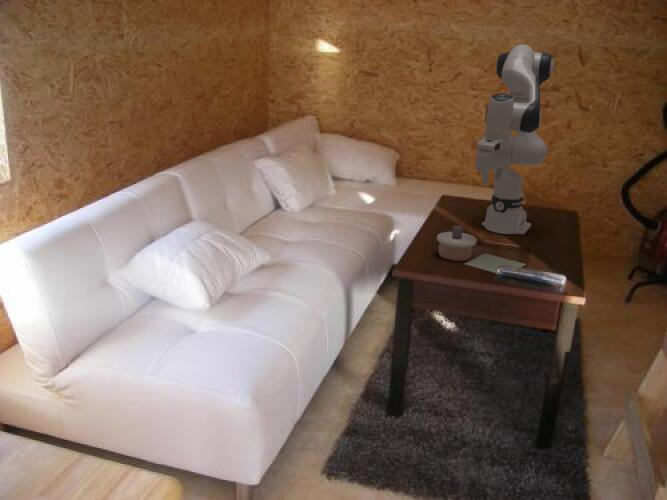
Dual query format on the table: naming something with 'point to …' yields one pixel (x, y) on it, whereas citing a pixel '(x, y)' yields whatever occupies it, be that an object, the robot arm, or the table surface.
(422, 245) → the table surface
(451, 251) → the bowl
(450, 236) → the lid
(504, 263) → the mat
